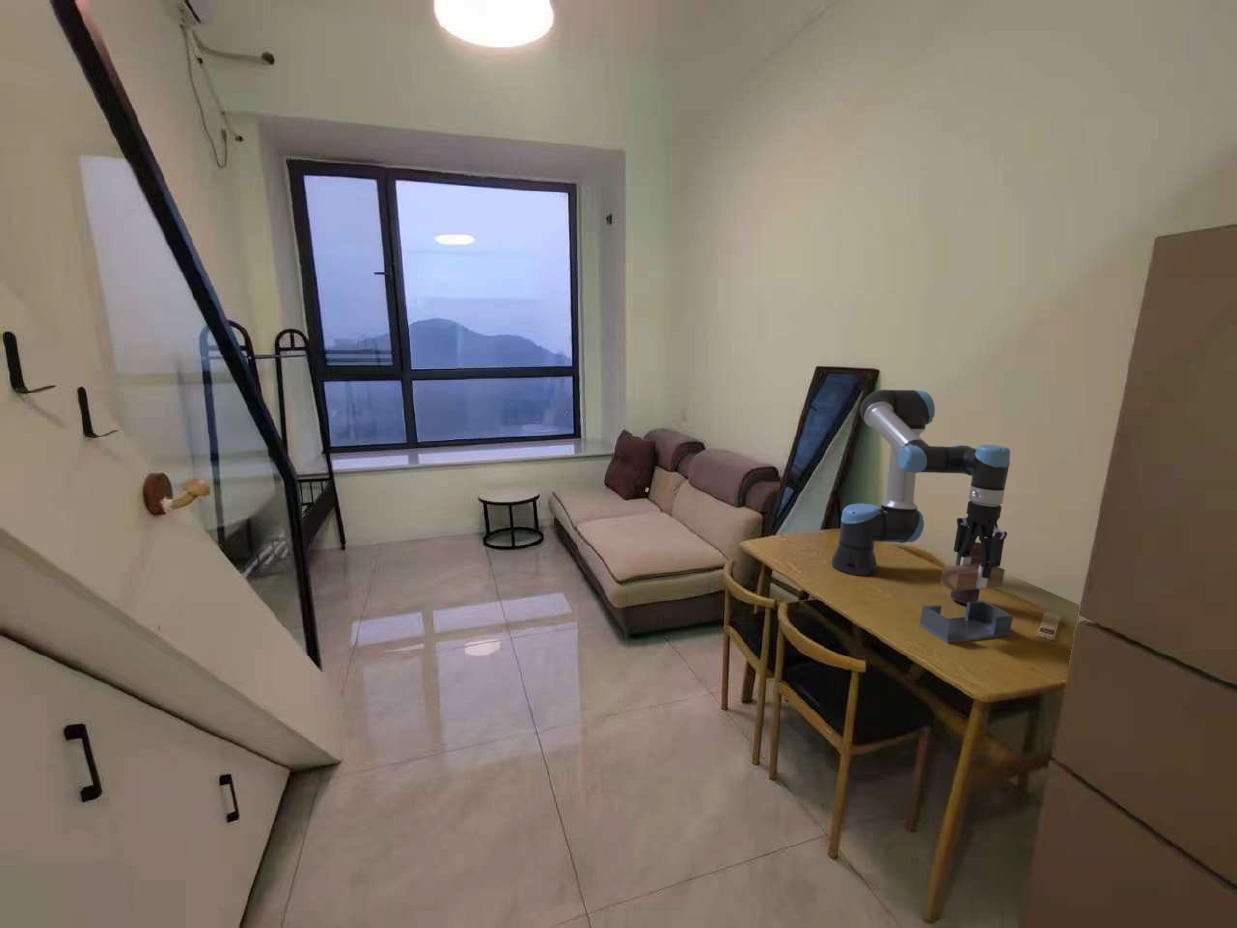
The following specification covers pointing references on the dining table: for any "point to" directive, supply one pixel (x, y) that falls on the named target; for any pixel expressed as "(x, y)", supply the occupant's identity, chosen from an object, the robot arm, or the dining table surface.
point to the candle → (973, 594)
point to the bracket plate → (967, 622)
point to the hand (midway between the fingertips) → (971, 583)
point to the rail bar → (969, 577)
